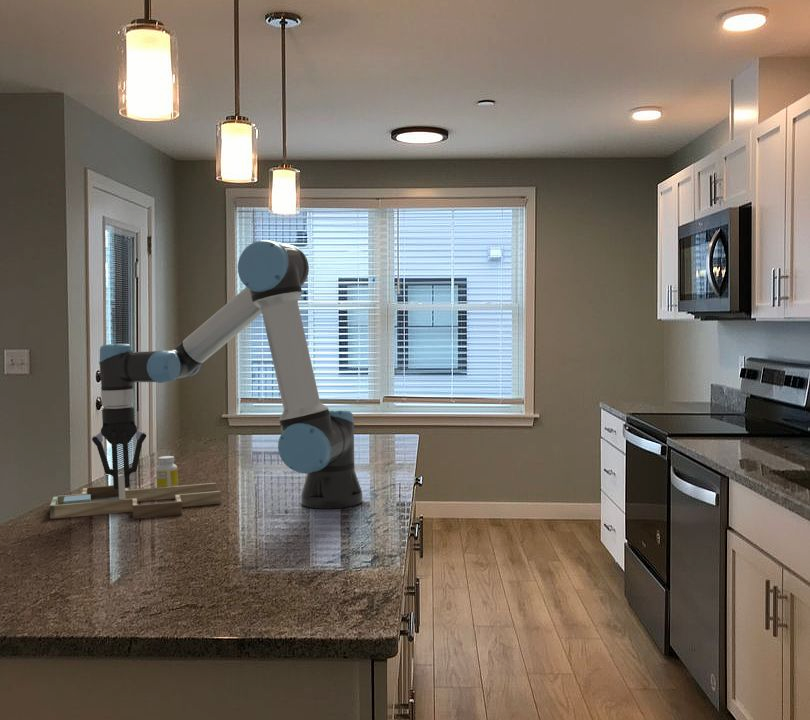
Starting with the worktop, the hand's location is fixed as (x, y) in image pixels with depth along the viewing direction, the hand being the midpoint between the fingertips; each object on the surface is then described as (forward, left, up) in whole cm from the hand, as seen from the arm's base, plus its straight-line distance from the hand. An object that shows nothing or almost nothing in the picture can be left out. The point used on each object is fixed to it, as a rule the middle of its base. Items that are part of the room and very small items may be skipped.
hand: (122, 501), depth 205 cm
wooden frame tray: (0, -3, -2) cm, 4 cm away
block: (+1, +10, -2) cm, 11 cm away
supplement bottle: (+12, -11, -2) cm, 17 cm away
